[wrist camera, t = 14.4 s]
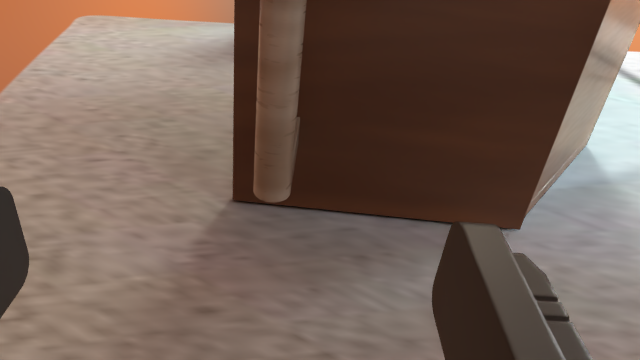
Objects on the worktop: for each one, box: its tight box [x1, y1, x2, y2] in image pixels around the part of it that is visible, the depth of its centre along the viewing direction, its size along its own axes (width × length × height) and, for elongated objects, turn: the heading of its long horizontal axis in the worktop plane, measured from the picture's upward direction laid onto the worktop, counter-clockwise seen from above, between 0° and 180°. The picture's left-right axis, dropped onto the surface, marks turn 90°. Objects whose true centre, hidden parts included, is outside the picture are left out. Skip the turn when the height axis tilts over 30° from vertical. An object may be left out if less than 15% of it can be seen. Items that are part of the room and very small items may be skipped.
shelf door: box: [233, 0, 611, 229], centre depth 20 cm, size 6×16×20 cm, turn 88°
